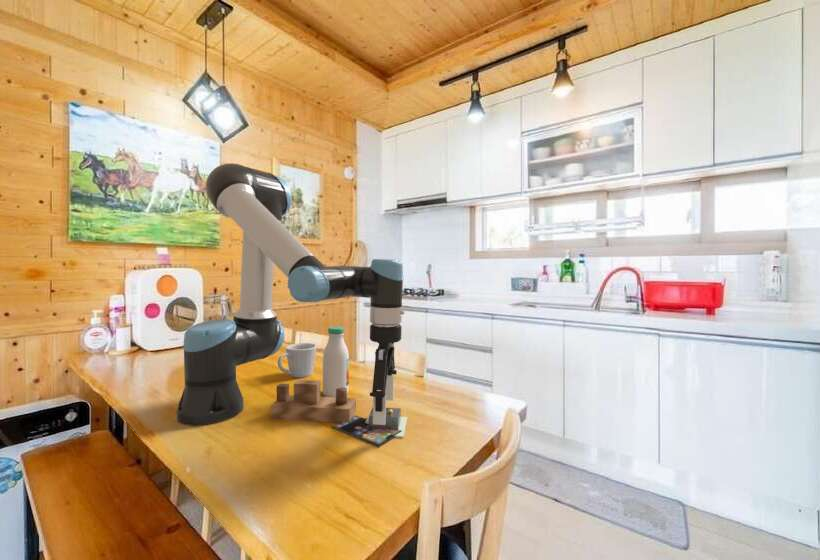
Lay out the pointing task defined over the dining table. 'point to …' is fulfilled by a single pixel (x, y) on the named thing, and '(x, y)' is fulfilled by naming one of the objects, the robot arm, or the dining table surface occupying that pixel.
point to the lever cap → (387, 419)
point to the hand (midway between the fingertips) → (383, 411)
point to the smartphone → (365, 431)
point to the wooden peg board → (312, 404)
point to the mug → (299, 359)
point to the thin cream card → (401, 427)
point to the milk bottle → (335, 363)
